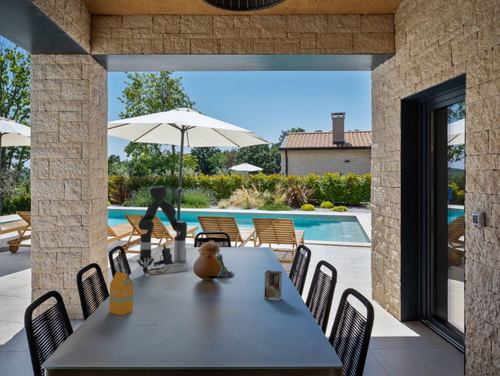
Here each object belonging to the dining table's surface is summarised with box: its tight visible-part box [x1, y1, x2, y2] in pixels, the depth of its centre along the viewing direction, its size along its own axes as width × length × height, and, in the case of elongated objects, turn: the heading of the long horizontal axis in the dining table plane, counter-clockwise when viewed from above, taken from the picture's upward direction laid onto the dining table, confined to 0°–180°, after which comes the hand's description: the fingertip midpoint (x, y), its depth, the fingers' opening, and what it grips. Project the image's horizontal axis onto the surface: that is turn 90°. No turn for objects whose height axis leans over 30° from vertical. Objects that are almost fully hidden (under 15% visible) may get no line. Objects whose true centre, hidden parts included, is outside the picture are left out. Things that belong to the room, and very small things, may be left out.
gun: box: [152, 243, 175, 267], centre depth 297 cm, size 3×17×15 cm
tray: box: [160, 262, 188, 274], centre depth 284 cm, size 16×13×3 cm
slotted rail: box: [143, 267, 169, 276], centre depth 274 cm, size 14×9×2 cm, turn 130°
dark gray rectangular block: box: [150, 266, 159, 271], centre depth 274 cm, size 4×4×4 cm
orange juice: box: [108, 271, 134, 316], centre depth 192 cm, size 8×9×20 cm
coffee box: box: [263, 269, 283, 302], centre depth 221 cm, size 9×6×16 cm
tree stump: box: [216, 253, 235, 279], centre depth 272 cm, size 18×20×18 cm
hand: (145, 272), depth 269 cm, fingers closed
